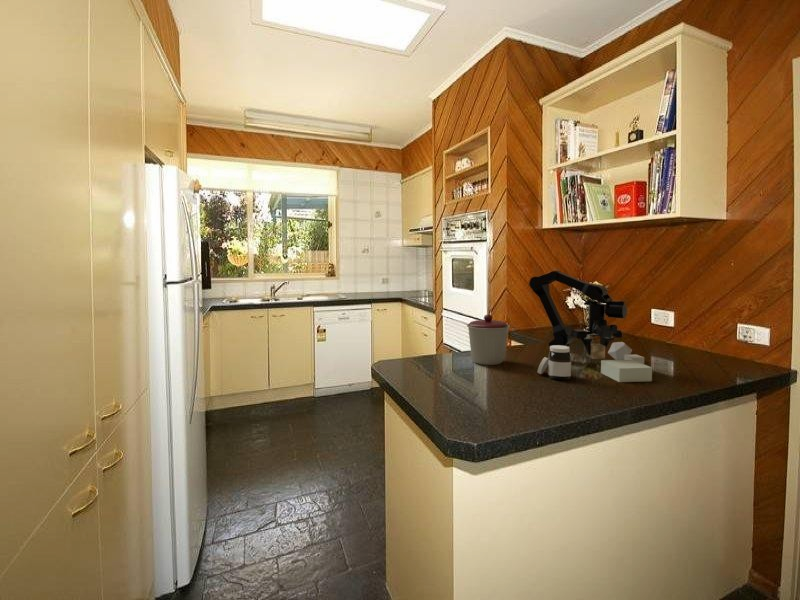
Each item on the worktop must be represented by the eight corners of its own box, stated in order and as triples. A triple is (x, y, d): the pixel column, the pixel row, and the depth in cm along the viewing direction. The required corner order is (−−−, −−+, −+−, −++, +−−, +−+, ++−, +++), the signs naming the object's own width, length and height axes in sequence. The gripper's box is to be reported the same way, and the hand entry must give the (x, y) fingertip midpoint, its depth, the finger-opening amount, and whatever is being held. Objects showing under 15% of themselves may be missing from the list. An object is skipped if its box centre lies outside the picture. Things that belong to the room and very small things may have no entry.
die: (632, 364, 168) (638, 345, 171) (614, 355, 167) (620, 335, 171) (618, 367, 175) (624, 348, 179) (602, 357, 175) (608, 338, 178)
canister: (458, 362, 173) (458, 314, 171) (483, 355, 185) (483, 310, 183) (493, 370, 159) (493, 318, 157) (517, 362, 171) (518, 314, 169)
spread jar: (572, 382, 143) (573, 350, 142) (540, 380, 145) (540, 349, 144) (566, 372, 155) (566, 343, 154) (535, 371, 157) (536, 342, 156)
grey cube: (631, 369, 158) (632, 357, 157) (624, 366, 163) (624, 354, 162) (643, 369, 158) (644, 357, 158) (635, 366, 163) (636, 354, 163)
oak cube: (592, 358, 159) (593, 346, 158) (586, 355, 164) (586, 343, 163) (605, 358, 159) (605, 346, 158) (598, 355, 164) (598, 343, 163)
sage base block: (619, 382, 142) (619, 368, 141) (600, 372, 154) (601, 360, 153) (651, 381, 142) (652, 367, 142) (630, 372, 154) (631, 359, 154)
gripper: (584, 319, 151) (583, 359, 153) (631, 318, 152) (630, 358, 154) (570, 315, 162) (569, 353, 164) (614, 315, 163) (613, 352, 165)
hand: (595, 354), depth 161 cm, fingers closed on oak cube, 5 cm apart
